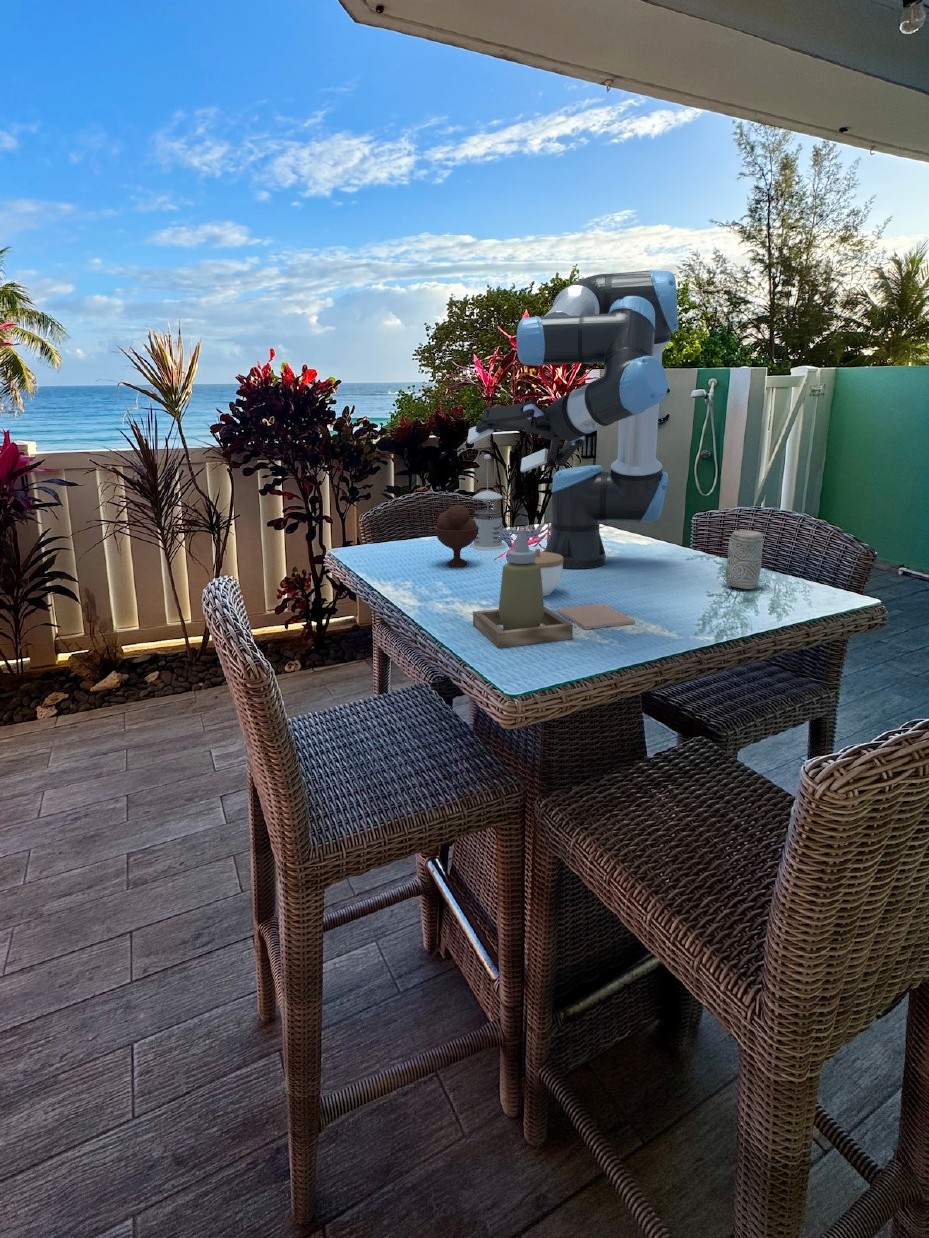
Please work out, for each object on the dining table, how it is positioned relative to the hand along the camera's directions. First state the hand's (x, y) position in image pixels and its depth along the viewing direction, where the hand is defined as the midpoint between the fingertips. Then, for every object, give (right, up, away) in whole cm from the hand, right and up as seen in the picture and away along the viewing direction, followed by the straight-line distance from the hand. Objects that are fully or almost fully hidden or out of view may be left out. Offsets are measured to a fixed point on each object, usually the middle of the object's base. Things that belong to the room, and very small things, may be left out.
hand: (496, 451), depth 137 cm
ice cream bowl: (-8, -19, +40) cm, 45 cm away
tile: (+18, -32, -3) cm, 37 cm away
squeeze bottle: (+4, -34, -10) cm, 36 cm away
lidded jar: (+9, -27, +14) cm, 32 cm away
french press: (0, -12, +62) cm, 63 cm away
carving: (+53, -26, +15) cm, 61 cm away
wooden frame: (+4, -34, -11) cm, 36 cm away
